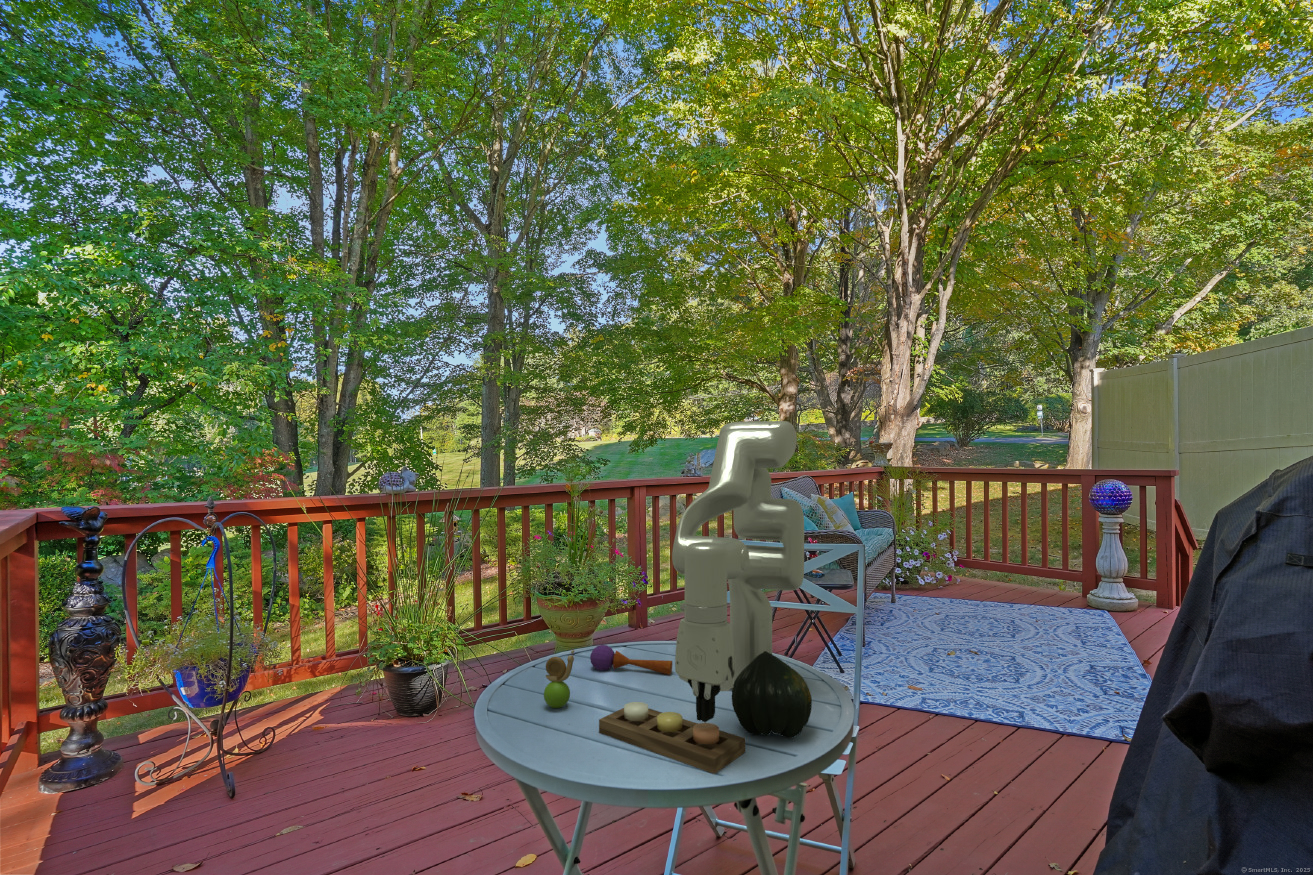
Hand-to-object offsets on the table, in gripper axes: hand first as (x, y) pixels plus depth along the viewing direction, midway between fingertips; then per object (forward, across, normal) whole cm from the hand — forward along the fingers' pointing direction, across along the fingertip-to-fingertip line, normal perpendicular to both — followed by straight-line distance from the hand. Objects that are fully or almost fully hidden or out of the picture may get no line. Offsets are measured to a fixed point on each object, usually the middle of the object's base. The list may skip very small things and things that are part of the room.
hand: (705, 718), depth 116 cm
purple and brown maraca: (+6, -39, +26) cm, 47 cm away
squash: (+6, +4, +16) cm, 18 cm away
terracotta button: (+4, 0, 0) cm, 4 cm away
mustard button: (+4, -8, 0) cm, 9 cm away
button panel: (+6, -8, 0) cm, 10 cm away
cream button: (+3, -16, 0) cm, 16 cm away
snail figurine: (+6, -36, 0) cm, 37 cm away
